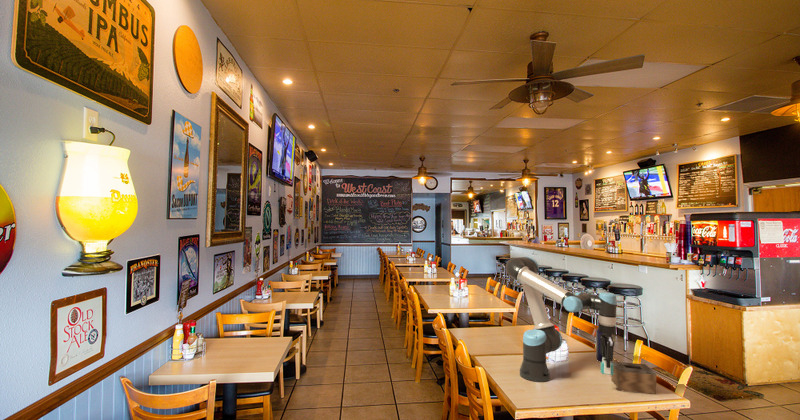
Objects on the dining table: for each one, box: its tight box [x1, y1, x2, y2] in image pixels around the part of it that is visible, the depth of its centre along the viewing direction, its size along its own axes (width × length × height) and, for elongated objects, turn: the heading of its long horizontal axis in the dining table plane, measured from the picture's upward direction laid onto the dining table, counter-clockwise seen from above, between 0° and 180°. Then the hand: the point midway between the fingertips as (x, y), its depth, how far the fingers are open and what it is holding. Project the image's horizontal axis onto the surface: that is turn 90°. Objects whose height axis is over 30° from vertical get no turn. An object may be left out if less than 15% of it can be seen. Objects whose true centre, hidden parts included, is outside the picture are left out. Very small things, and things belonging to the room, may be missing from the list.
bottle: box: [595, 326, 614, 363], centre depth 222 cm, size 9×9×30 cm
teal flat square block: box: [600, 362, 613, 376], centre depth 180 cm, size 5×2×5 cm, turn 77°
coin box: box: [610, 360, 657, 395], centre depth 184 cm, size 16×12×10 cm
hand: (606, 372), depth 180 cm, fingers closed on teal flat square block, 2 cm apart
